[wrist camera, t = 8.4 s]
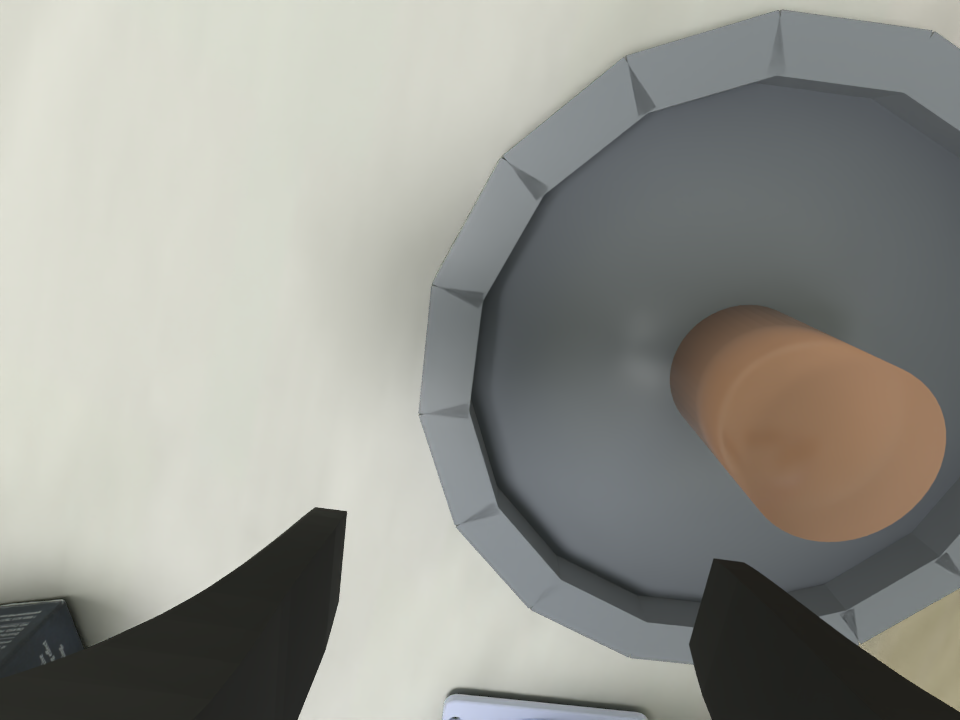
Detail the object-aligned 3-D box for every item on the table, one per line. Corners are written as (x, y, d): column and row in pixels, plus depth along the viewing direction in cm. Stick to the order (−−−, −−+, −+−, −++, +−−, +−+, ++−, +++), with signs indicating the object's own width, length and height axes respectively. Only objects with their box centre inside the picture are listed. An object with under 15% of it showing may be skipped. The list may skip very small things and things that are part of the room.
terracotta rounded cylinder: (790, 446, 21) (909, 551, 15) (656, 430, 21) (724, 530, 15) (829, 314, 19) (975, 373, 14) (686, 296, 19) (773, 348, 14)
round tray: (929, 651, 24) (968, 693, 22) (403, 595, 23) (396, 633, 21) (1155, 83, 18) (1235, 72, 16) (465, -12, 17) (463, -35, 15)
